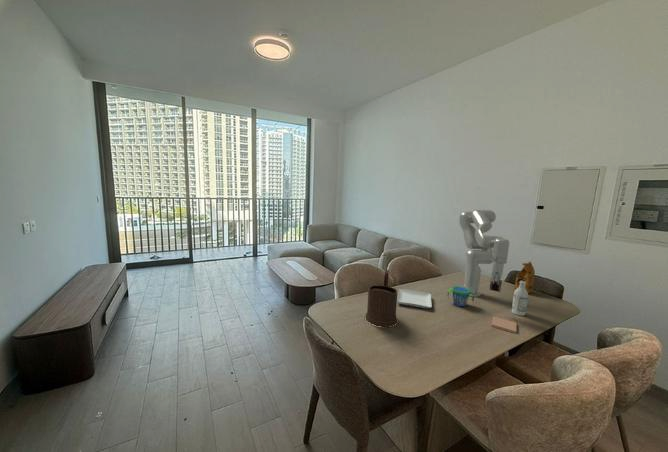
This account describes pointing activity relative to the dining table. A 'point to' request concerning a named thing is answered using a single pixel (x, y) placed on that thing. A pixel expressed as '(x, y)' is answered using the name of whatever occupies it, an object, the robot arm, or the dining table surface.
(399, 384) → the dining table surface
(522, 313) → the bath foam
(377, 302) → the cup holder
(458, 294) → the snack cup
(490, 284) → the walnut cube
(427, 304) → the salad plate
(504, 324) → the terracotta tile
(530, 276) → the orange cat figurine
